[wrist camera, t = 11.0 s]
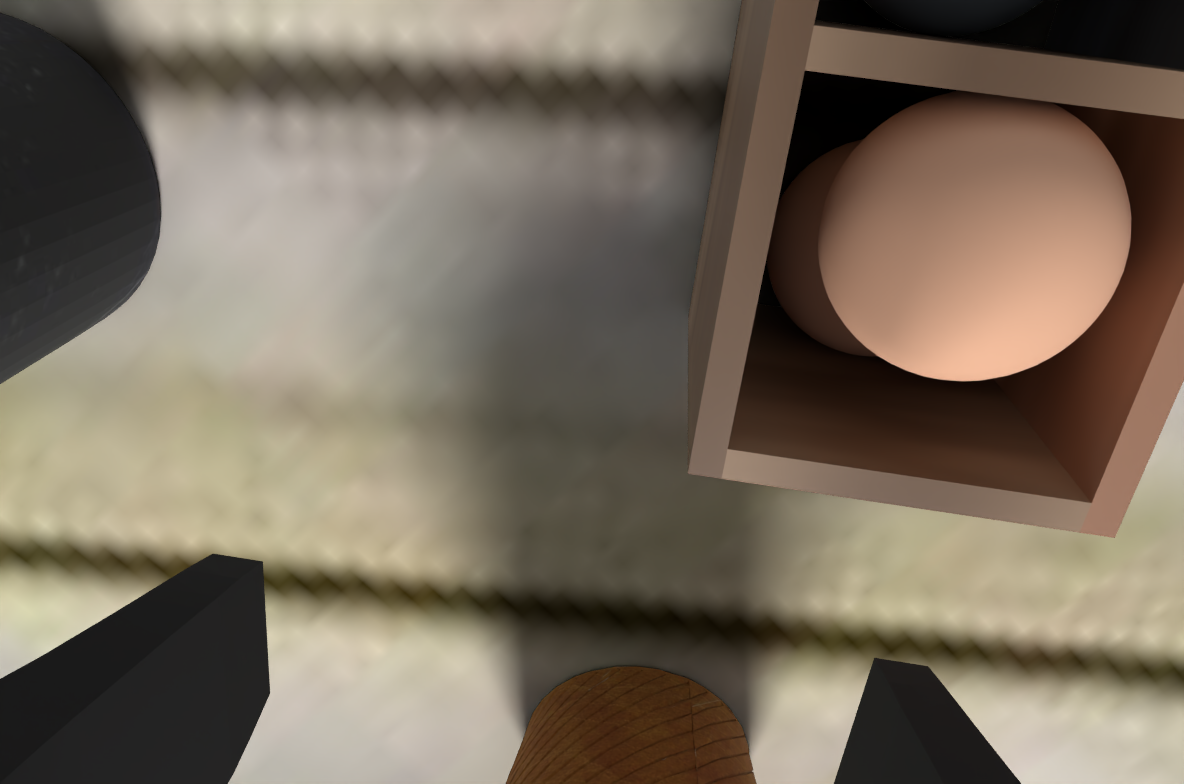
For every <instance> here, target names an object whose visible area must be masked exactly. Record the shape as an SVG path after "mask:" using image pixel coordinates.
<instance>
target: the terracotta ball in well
mask: <svg viewBox="0 0 1184 784" xmlns="http://www.w3.org/2000/svg"><path fill="white" fill-rule="evenodd" d="M863 140H864V139H863ZM863 140H858V141H855V142H851V143H848V144H845V145H842V146H840V147H838V148H835V149H833V150H831V151H829V152H828V153H826V154H824V155H822V156H820V157H819V158H818V159H816V160H815V161H813V162H812V163H811V164H809V165H808V166H807V167H806V168H805V169H804V170H803V171H801V172H800V173H799V174H798V176H797V177H796V178H795V179H794V180H793V181H792V183H791V184H790V185H789V187H788V188H787V190H786V191H785V193H784V194H783V196H782V197H781V199H780V201H779V203H778V205H777V209H776V214H775V219H774V224H773V229H772V234H771V239H770V244H769V248H768V253H767V266H768V272H769V278H770V281H771V284H772V287H773V290H774V292H775V294H776V296H777V299H778V301H779V303H780V305H781V306H782V308H783V309H784V310H785V312H786V313H787V315H788V316H789V317H790V318H791V320H792V321H793V322H794V323H795V324H796V325H797V326H798V327H799V328H800V329H801V330H803V331H804V332H805V333H806V334H808V335H809V336H810V337H812V338H813V339H815V340H816V341H818V342H820V343H821V344H823V345H826V346H828V347H830V348H832V349H835V350H838V351H841V352H845V353H848V354H853V355H858V356H869V357H874V356H877V355H876V354H875V353H873V352H872V351H870V350H869V349H868V348H866V347H865V346H864V345H863V344H862V343H861V342H860V341H859V340H858V339H857V338H856V337H855V336H854V335H853V334H852V333H851V332H850V330H849V329H848V328H847V327H846V326H845V324H844V323H843V321H842V320H841V318H840V317H839V316H838V314H837V313H836V311H835V309H834V307H833V305H832V303H831V301H830V300H829V297H828V294H827V292H826V289H825V286H824V283H823V279H822V274H821V270H820V266H819V256H818V235H819V224H820V220H821V216H822V212H823V207H824V203H825V200H826V197H827V195H828V192H829V190H830V188H831V186H832V183H833V181H834V179H835V177H836V175H837V173H838V172H839V170H840V169H841V167H842V166H843V164H844V163H845V161H846V160H847V158H848V157H849V155H850V154H851V153H852V151H853V150H854V149H855V148H856V147H857V146H858V145H859V144H860V143H861V142H862V141H863Z"/></svg>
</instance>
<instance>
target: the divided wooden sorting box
mask: <svg viewBox="0 0 1184 784" xmlns="http://www.w3.org/2000/svg"><path fill="white" fill-rule="evenodd" d="M818 3H819V0H742V3H741V9H740V15H739V20H738V26H737V32H736V38H735V44H734V50H733V56H732V62H731V68H730V73H729V79H728V85H727V91H726V97H725V103H724V109H723V115H722V121H721V126H720V132H719V138H718V144H717V150H716V156H715V162H714V168H713V174H712V179H711V185H710V191H709V197H708V203H707V209H706V215H705V221H704V227H703V232H702V238H701V244H700V250H699V256H698V262H697V268H696V274H695V280H694V285H693V291H692V297H691V303H690V309H689V315H688V474H693V475H699V476H706V477H713V478H719V479H726V480H733V481H739V482H746V483H753V484H759V485H766V486H773V487H779V488H786V489H793V490H799V491H806V492H813V493H820V494H826V495H833V496H840V497H846V498H853V499H860V500H866V501H873V502H880V503H886V504H893V505H900V506H906V507H913V508H920V509H926V510H933V511H940V512H946V513H953V514H960V515H966V516H973V517H980V518H987V519H993V520H1000V521H1007V522H1013V523H1020V524H1027V525H1033V526H1040V527H1047V528H1053V529H1060V530H1067V531H1073V532H1080V533H1087V534H1093V535H1100V536H1107V537H1113V538H1115V536H1116V533H1117V531H1118V529H1119V527H1120V524H1121V522H1122V520H1123V517H1124V515H1125V513H1126V511H1127V508H1128V506H1129V504H1130V502H1131V499H1132V497H1133V495H1134V492H1135V490H1136V488H1137V486H1138V483H1139V481H1140V479H1141V476H1142V474H1143V472H1144V470H1145V467H1146V465H1147V463H1148V460H1149V458H1150V456H1151V454H1152V451H1153V449H1154V447H1155V444H1156V442H1157V440H1158V438H1159V435H1160V433H1161V431H1162V429H1163V426H1164V424H1165V422H1166V419H1167V417H1168V415H1169V413H1170V410H1171V408H1172V406H1173V403H1174V401H1175V399H1176V397H1177V394H1178V392H1179V390H1180V387H1181V385H1182V383H1183V381H1184V0H1058V4H1057V7H1056V10H1055V13H1054V17H1053V20H1052V23H1051V26H1050V29H1049V33H1048V36H1047V39H1046V42H1045V46H1044V48H1036V47H1028V46H1020V45H1012V44H1004V43H996V42H988V41H980V40H972V39H964V38H956V37H948V36H935V35H926V34H921V33H916V32H909V31H901V30H893V29H885V28H877V27H869V26H861V25H853V24H845V23H837V22H829V21H821V20H815V18H816V13H817V8H818ZM805 70H806V71H814V72H821V73H829V74H837V75H845V76H853V77H860V78H868V79H876V80H884V81H891V82H899V83H907V84H915V85H923V86H930V87H938V88H946V89H954V90H962V91H969V92H977V93H985V94H993V95H1001V96H1008V97H1016V98H1024V99H1032V100H1039V101H1047V102H1051V103H1053V104H1055V105H1057V106H1059V107H1061V108H1063V109H1065V110H1066V111H1068V112H1069V113H1071V114H1072V115H1074V116H1075V117H1077V118H1078V119H1079V120H1081V121H1082V122H1083V123H1084V124H1086V125H1087V126H1088V127H1089V128H1090V129H1091V130H1092V131H1093V132H1094V133H1095V134H1096V135H1097V136H1098V138H1099V139H1100V140H1101V141H1102V142H1103V144H1104V145H1105V147H1106V148H1107V149H1108V151H1109V152H1110V154H1111V155H1112V157H1113V158H1114V160H1115V162H1116V164H1117V166H1118V167H1119V169H1120V172H1121V174H1122V177H1123V179H1124V182H1125V186H1126V190H1127V194H1128V198H1129V202H1130V209H1131V242H1130V248H1129V252H1128V257H1127V261H1126V265H1125V268H1124V272H1123V274H1122V276H1121V279H1120V281H1119V284H1118V286H1117V288H1116V290H1115V292H1114V294H1113V296H1112V298H1111V299H1110V301H1109V302H1108V304H1107V305H1106V307H1105V308H1104V310H1103V311H1102V312H1101V314H1100V315H1099V316H1098V318H1097V319H1096V320H1095V321H1094V322H1093V324H1092V325H1091V326H1090V327H1089V328H1088V329H1087V330H1086V331H1085V332H1084V333H1083V334H1082V335H1081V336H1080V337H1078V338H1077V339H1076V340H1075V341H1074V342H1073V343H1071V344H1070V345H1069V346H1067V347H1066V348H1065V349H1063V350H1062V351H1061V352H1059V353H1057V354H1056V355H1054V356H1052V357H1051V358H1049V359H1047V360H1045V361H1043V362H1041V363H1040V364H1038V365H1036V366H1033V367H1031V368H1028V369H1026V370H1023V371H1020V372H1017V373H1014V374H1011V375H1008V376H1003V377H997V378H992V379H986V380H980V381H952V380H940V379H934V378H929V377H925V376H921V375H918V374H915V373H912V372H909V371H906V370H904V369H902V368H900V367H897V366H895V365H893V364H891V363H889V362H887V361H886V360H884V359H882V358H880V357H879V356H874V357H869V356H858V355H853V354H848V353H845V352H841V351H838V350H835V349H832V348H830V347H828V346H826V345H823V344H821V343H820V342H818V341H816V340H815V339H813V338H812V337H810V336H809V335H808V334H806V333H805V332H804V331H803V330H801V329H800V328H799V327H798V326H797V325H796V324H795V323H794V322H793V321H792V320H791V318H790V317H789V316H788V315H787V313H786V312H785V310H784V309H783V308H782V307H778V306H771V305H764V304H757V302H758V298H759V293H760V288H761V283H762V278H763V273H764V268H765V263H766V258H767V253H768V248H769V244H770V239H771V234H772V229H773V224H774V219H775V214H776V209H777V204H778V199H779V195H780V190H781V185H782V180H783V175H784V170H785V165H786V160H787V155H788V150H789V145H790V141H791V136H792V131H793V126H794V121H795V116H796V111H797V106H798V101H799V96H800V92H801V87H802V82H803V77H804V72H805Z"/></svg>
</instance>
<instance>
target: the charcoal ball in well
mask: <svg viewBox="0 0 1184 784" xmlns="http://www.w3.org/2000/svg"><path fill="white" fill-rule="evenodd" d="M864 1H865V2H866V3H867V4H868V5H869V6H870V7H871V8H872V9H873V10H875V11H876V12H877V13H879V14H880V15H881V16H883V17H884V18H885V19H887V20H889V21H890V22H892V23H894V24H896V25H898V26H900V27H902V28H905V29H907V30H910V31H913V32H916V33H921V34H926V35H935V36H962V35H969V34H974V33H979V32H983V31H986V30H989V29H993V28H996V27H998V26H1000V25H1003V24H1005V23H1007V22H1010V21H1012V20H1014V19H1015V18H1017V17H1019V16H1021V15H1022V14H1024V13H1026V12H1028V11H1029V10H1030V9H1032V8H1033V7H1035V6H1036V5H1038V4H1039V3H1040V2H1042V1H1043V0H864Z"/></svg>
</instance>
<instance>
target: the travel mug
mask: <svg viewBox="0 0 1184 784" xmlns="http://www.w3.org/2000/svg"><path fill="white" fill-rule="evenodd" d="M160 220H161V212H160V196H159V190H158V184H157V179H156V174H155V171H154V168H153V164H152V161H151V158H150V154H149V152H148V150H147V147H146V145H145V143H144V140H143V138H142V136H141V133H140V131H139V130H138V128H137V126H136V124H135V122H134V121H133V119H132V117H131V115H130V113H129V112H128V110H127V109H126V108H125V106H124V105H123V103H122V102H121V100H120V99H119V97H118V96H117V95H116V93H115V92H114V91H113V90H112V88H111V87H110V86H109V85H108V84H107V83H106V81H105V80H104V79H103V78H102V77H101V76H100V74H99V73H98V72H96V71H95V70H94V69H93V68H92V67H91V66H90V65H89V64H88V63H87V62H86V61H85V60H84V59H83V58H82V57H80V56H79V55H78V54H77V53H75V52H74V51H73V50H71V49H70V48H69V47H67V46H66V45H65V44H64V43H62V42H61V41H59V40H57V39H56V38H54V37H53V36H51V35H49V34H48V33H46V32H44V31H43V30H41V29H39V28H37V27H34V26H32V25H30V24H28V23H26V22H24V21H21V20H19V19H17V18H14V17H11V16H8V15H4V14H1V13H0V384H1V383H3V382H4V381H6V380H7V379H9V378H11V377H12V376H14V375H16V374H17V373H19V372H20V371H22V370H24V369H25V368H27V367H28V366H30V365H32V364H33V363H35V362H37V361H38V360H40V359H41V358H43V357H45V356H46V355H48V354H49V353H51V352H53V351H54V350H56V349H57V348H59V347H61V346H62V345H64V344H66V343H67V342H69V341H70V340H72V339H74V338H75V337H77V336H78V335H80V334H81V333H83V332H84V331H86V330H88V329H89V328H91V327H92V326H94V325H95V324H97V323H98V322H100V321H101V320H103V319H105V318H106V317H107V316H109V315H110V314H111V313H113V312H114V311H115V310H117V309H118V308H119V307H120V306H121V305H122V304H124V303H125V302H126V301H127V300H128V299H129V298H130V297H131V296H132V294H133V293H134V292H135V291H136V290H137V288H138V287H139V286H140V284H141V282H142V281H143V279H144V277H145V276H146V274H147V272H148V271H149V268H150V266H151V263H152V261H153V258H154V256H155V253H156V248H157V244H158V239H159V233H160Z"/></svg>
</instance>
